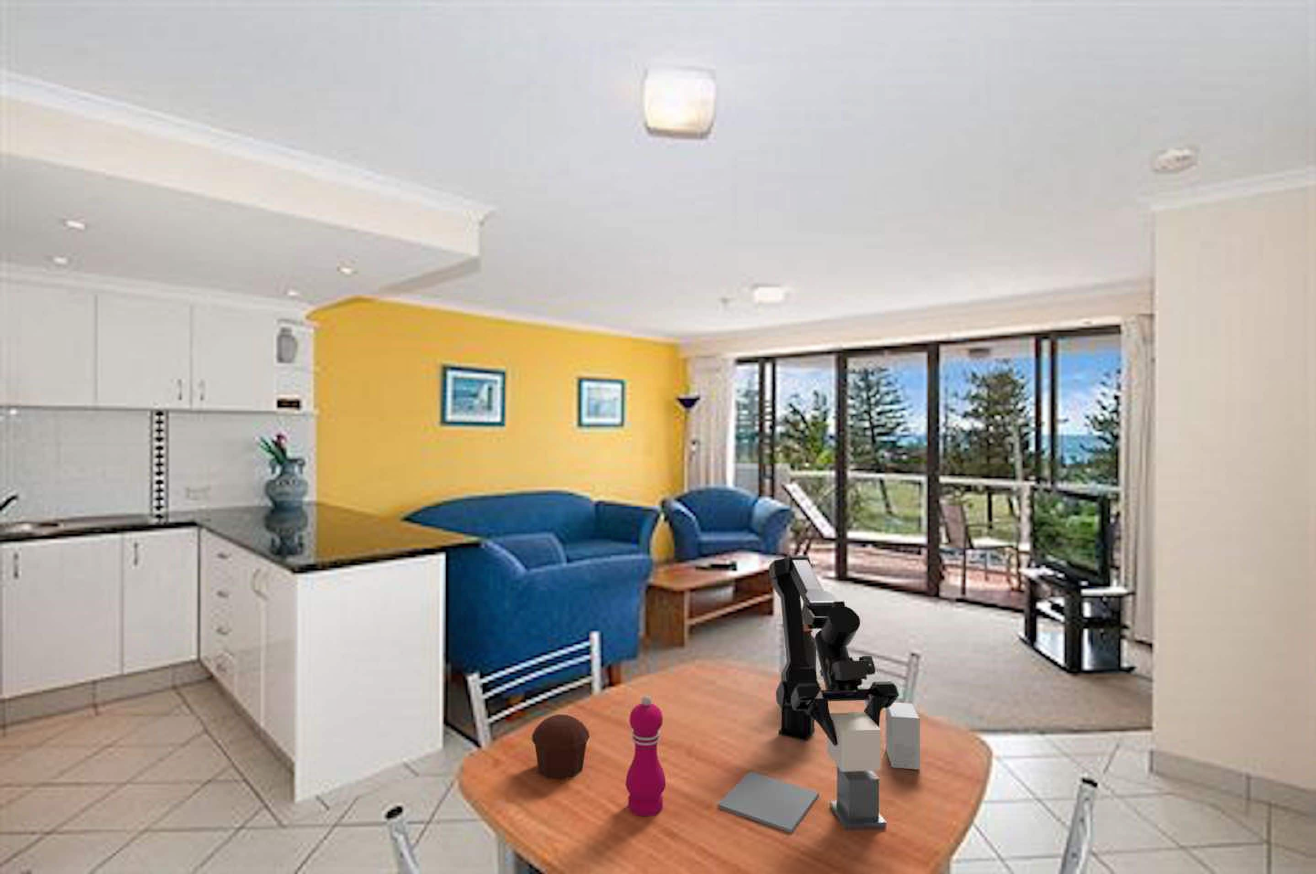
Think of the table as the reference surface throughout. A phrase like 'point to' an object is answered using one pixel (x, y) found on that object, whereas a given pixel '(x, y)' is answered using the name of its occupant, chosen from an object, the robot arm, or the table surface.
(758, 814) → the mat
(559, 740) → the muffin
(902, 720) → the small box
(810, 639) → the bottle
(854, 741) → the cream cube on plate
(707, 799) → the table surface
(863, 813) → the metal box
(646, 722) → the pepper mill
